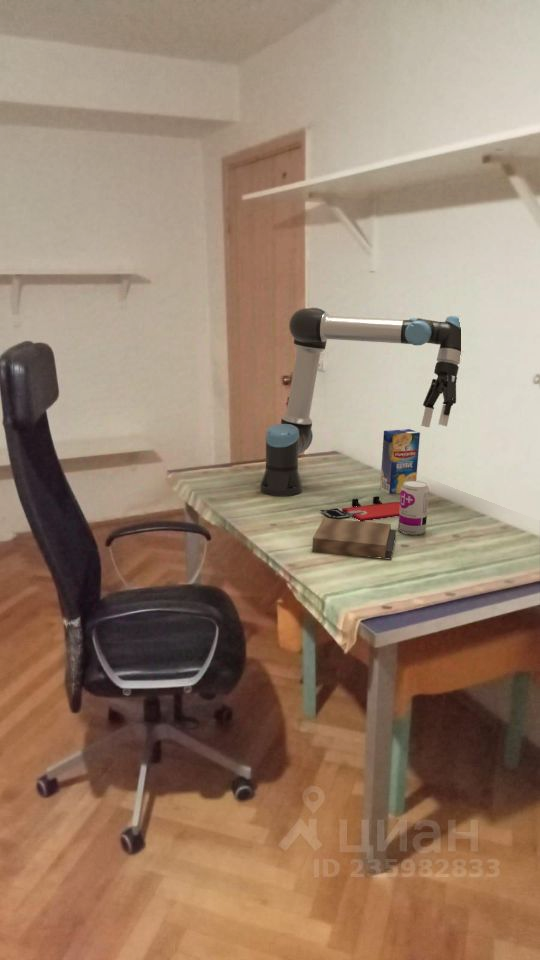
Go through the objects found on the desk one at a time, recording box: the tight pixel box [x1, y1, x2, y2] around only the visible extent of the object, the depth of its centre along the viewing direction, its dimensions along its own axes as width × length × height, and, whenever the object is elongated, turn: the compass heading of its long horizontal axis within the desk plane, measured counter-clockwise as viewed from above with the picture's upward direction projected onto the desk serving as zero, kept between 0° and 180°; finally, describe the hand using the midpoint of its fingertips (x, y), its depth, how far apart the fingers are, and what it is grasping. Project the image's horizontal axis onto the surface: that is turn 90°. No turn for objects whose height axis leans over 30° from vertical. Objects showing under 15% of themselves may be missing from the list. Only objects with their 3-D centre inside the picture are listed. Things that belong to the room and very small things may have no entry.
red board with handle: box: [319, 496, 400, 522], centre depth 220 cm, size 30×3×15 cm
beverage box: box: [379, 428, 421, 495], centre depth 243 cm, size 7×11×22 cm, turn 111°
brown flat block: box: [311, 517, 397, 559], centre depth 191 cm, size 22×18×4 cm
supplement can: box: [397, 480, 430, 536], centre depth 201 cm, size 8×8×15 cm
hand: (433, 426), depth 223 cm, fingers open, 13 cm apart
